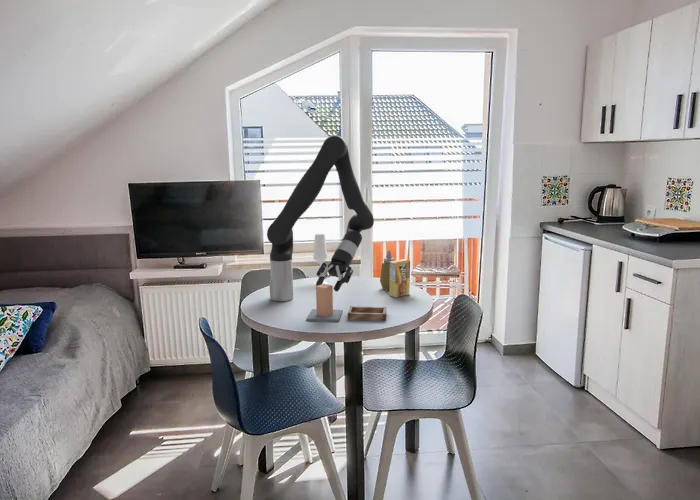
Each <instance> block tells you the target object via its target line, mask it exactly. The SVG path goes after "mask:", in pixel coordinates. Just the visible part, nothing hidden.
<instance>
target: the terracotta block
mask: <svg viewBox="0 0 700 500" xmlns="http://www.w3.org/2000/svg"><path fill="white" fill-rule="evenodd" d="M333 291H334V286H333V285H331V284H322V285H319V286H316V285H315V297H316V298H315V301H316V303H315V305H316V306H315V307H316V308H315V309H316V310H317V315H321V316H325V317H326V316H329V315H331V314H333V310H334V306H333V305H334V304H333V303H334V297H333V296H334V295H333V293H334V292H333Z"/></svg>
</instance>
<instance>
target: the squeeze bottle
mask: <svg viewBox="0 0 700 500" xmlns="http://www.w3.org/2000/svg"><path fill="white" fill-rule="evenodd" d="M391 261H395V258H394V257H392V252H391V250H390V249H388V250H387V252H386V257H384V258H383V262H382V263H381V266H380V267H381V269H380V275H379V277H380V278H379V282H380V285H381V289H382V290H385V291H389V284H390V262H391Z"/></svg>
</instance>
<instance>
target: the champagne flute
mask: <svg viewBox="0 0 700 500" xmlns="http://www.w3.org/2000/svg"><path fill="white" fill-rule="evenodd" d="M326 240H327V239H326V234H325V233H315V234H314V243H313V244H314V246H313V260H315V262H316V263H317V264H319V267H318V269H319V268H320V267H321V265H322V264H323V263H324V262H325V261H326V260H327V259H328V252H327V242H326ZM316 282H317V281H315V282H314V283H313V284H314V285H315V286H316ZM322 284H327V285H329V284H328V282H327V281H325V280H324V281H323V283H322Z"/></svg>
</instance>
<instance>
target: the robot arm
mask: <svg viewBox="0 0 700 500" xmlns="http://www.w3.org/2000/svg"><path fill="white" fill-rule="evenodd" d="M348 147H349V145H348V142H347V140H346V139H344V138H343V137H341V136H339V135H333V134H332V135H331V136H328V137H326V139H325V140H324V141H323V143H322V145H321V147H320V150H319V151H318V154H317V155H316V156H315V159H314V160H313V162H312V164H311V165H310V166H309V168H307V170H306V171H305V173H304V174H303V176H302V177H301V178H300V180H299V181H298V183H297V184H296V185H295V188H294V189H293V191H292V193H291V195H290V196H289V198H288V199H287V201H286V202H285V205H284V207H283V209H281V211H280V213H279V214H278V216H277V217H276V218H275V219H274V221H273V222H272V223H271V224H270V225H269V227H268V228H267V231H266V237H267V240H268V242H269V243H271V250H270V253H269V265H270V267H269V269H270V278H269V281H268V282H269V301H275V302H288V301H291V300H293V299H294V279H293V278H294V277H293V252H294V232H293V228H294V226H295V224H296V223H297V221H298V220H299V219H300V218H301V216H302V215H304V213H305V212H306V211H307V210H308V209H309V208H310V207H311V206H312V204H313V203H314V202H315V200H316V198H317V197H318V195H319V194H320V192H321V191H322V189H323V186H324V184H325V182H326V180H327V176H328V175H329V172H330V171H331V169H332V168H333V167H334V166H335V169H336V172H337V175H338V178H339V179H338V180H339V184H340V189H341V193H342V196H343V198H344V201H345V204H346V207H347V209H349V210H352V211H354V212H355V214H354V215H352V216H351V218H350V219H349V220H348V223H347V227H346V229H345V230H346V231H345V232H346V233H345V234H344V235H343V238H342V240H341V241H340V242H339V244H338V245H337V248H336V249H335V251H334V252H333V255H332V257H331V258H330V259H331V261H330V263H329V264H328V263H326V262H325V261H324V263H322V265H321V267H320V268H319V267H318V270H317V272H316V276H317V277H318V279H317V281H315V282H316V285H315V287H316V286H319V285H322V283H323V281H325V280H326V279H327V278H330V277H335V278H338V279H337V280H336V283H335V284H334V286H333V291H335V292H339V291H340V290H341V287H342V286H343V284H345V283H346V284H348V283H349V282H350V280H351V277H352V276H353V273H354V270H353V268H352V267H351V263H352V261H353V260H354V257H355V256H356V253H357V251H358V250H359V246H360V245H361V243H362V240H363V236H362V234H361V232H362V231H367V230H370V229H372V227H373V226H374V223H375V219H374V215H373V213H372V212H371V210H370V208H369V207H368V205H367V203H366V202H365V201H364V198H363V196H362V195H363V194H362V192H361V189H360V186H359V184H358V182H357V178H356V176H355V174H354V170H353V167H352V163H351V159H350V154H349V148H348Z"/></svg>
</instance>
